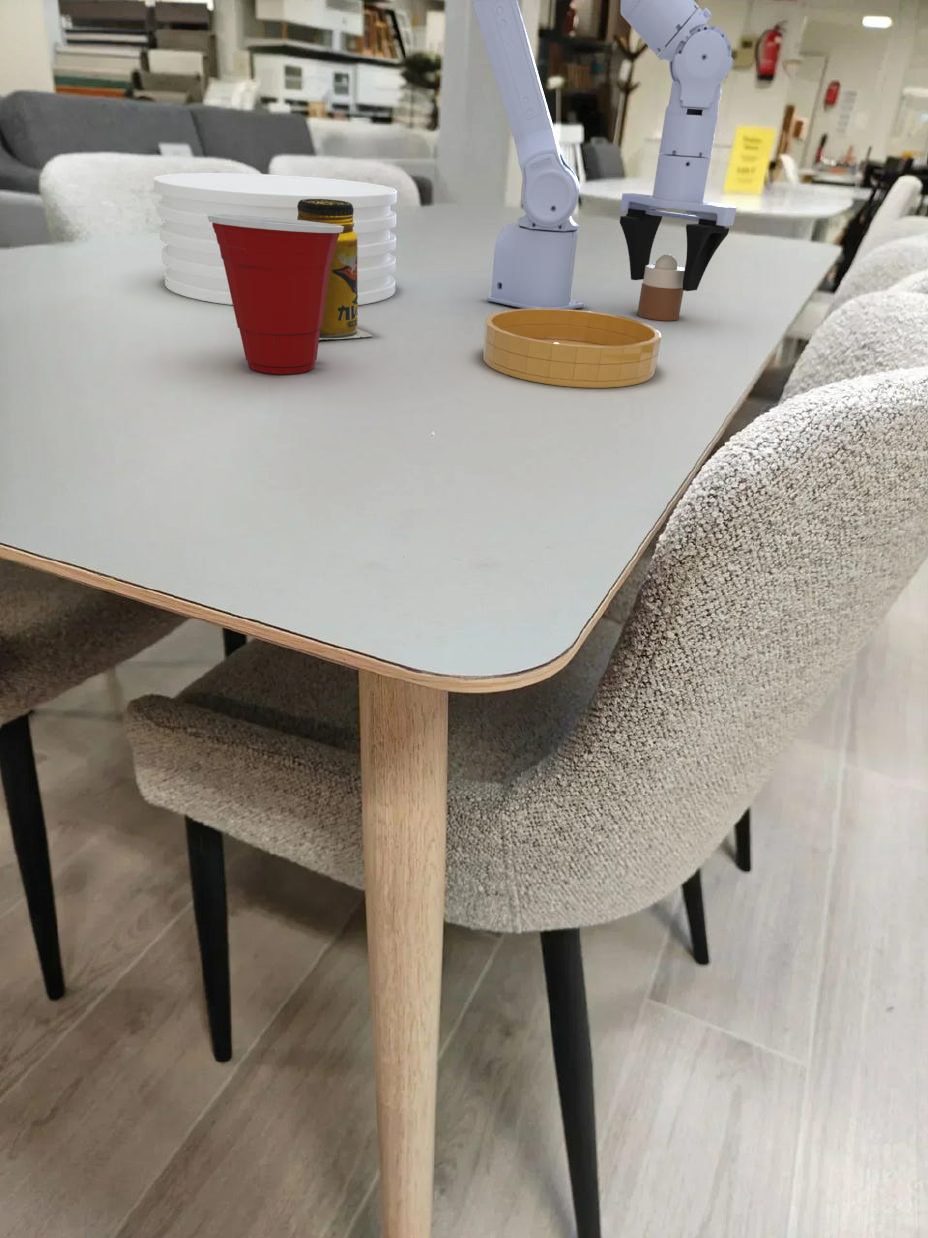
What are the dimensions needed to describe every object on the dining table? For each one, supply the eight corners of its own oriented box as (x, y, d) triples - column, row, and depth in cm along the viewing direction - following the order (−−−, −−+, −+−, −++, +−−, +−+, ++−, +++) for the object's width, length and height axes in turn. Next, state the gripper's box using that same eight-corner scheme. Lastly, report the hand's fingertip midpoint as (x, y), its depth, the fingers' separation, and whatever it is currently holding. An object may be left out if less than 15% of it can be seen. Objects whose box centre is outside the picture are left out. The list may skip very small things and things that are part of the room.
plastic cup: (365, 360, 78) (366, 215, 72) (309, 389, 69) (304, 226, 63) (260, 344, 81) (252, 203, 75) (192, 370, 72) (177, 212, 66)
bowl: (447, 358, 80) (449, 319, 79) (549, 336, 91) (553, 302, 90) (591, 398, 72) (597, 356, 70) (685, 369, 82) (692, 331, 81)
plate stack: (384, 315, 95) (385, 201, 90) (131, 299, 95) (116, 183, 89) (403, 274, 120) (405, 183, 114) (201, 261, 119) (193, 168, 113)
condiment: (373, 337, 86) (374, 205, 80) (294, 343, 82) (289, 204, 76) (340, 322, 91) (339, 197, 85) (265, 327, 87) (258, 196, 81)
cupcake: (629, 314, 104) (638, 252, 101) (650, 310, 108) (660, 250, 104) (665, 322, 102) (676, 259, 98) (686, 317, 105) (697, 256, 101)
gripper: (761, 161, 94) (734, 292, 101) (653, 151, 103) (635, 272, 110) (725, 160, 90) (699, 297, 97) (616, 150, 99) (600, 276, 105)
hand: (663, 284), depth 103 cm, fingers open, 7 cm apart
